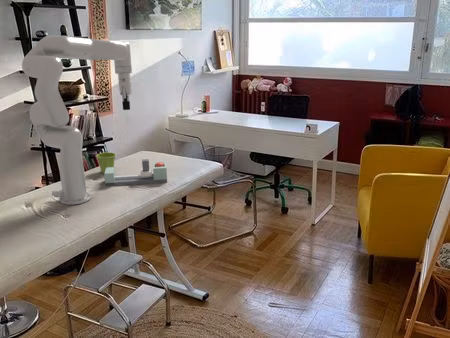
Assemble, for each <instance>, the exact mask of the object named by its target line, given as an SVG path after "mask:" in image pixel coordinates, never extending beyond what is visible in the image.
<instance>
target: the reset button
mask: <svg viewBox="0 0 450 338" xmlns="http://www.w3.org/2000/svg"><path fill="white" fill-rule="evenodd" d="M163 162H164V161H163ZM163 162H161V161H159V162H157V161H156V162H155V163H156V167H164V165H163Z"/></svg>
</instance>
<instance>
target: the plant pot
mask: <svg viewBox="0 0 450 338" xmlns="http://www.w3.org/2000/svg"><path fill="white" fill-rule="evenodd" d="M116 155H117V154H116V153H115V152H101V153H98V154H96V155H95V156H96V158H97V160H98V164H99V168H100V172H101V173H102V174H104V173H105V170H106V168H108V167H115V159H116Z"/></svg>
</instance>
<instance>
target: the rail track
mask: <svg viewBox="0 0 450 338" xmlns="http://www.w3.org/2000/svg"><path fill="white" fill-rule="evenodd" d="M156 163H157V162H153V163H152V165H153V166H152V169H153V170H152V172H153V173H152V176H147V177H141V174H130V175H129V174H128V175H127V174H125V175H117V174H116V167H115V166H114V167H108V168H106V170H105V173H103V174H104V182H105V183H104V184H105V187H110V186H114V187H115V186H126V185H129V186H130V185H143V184H146V185H147V184H158V183H168V175H167V173H168V172H167V162H166V161H165V162H164V161H163V165H164V167H156Z"/></svg>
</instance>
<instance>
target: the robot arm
mask: <svg viewBox="0 0 450 338" xmlns="http://www.w3.org/2000/svg"><path fill="white" fill-rule="evenodd" d="M131 55H132V54H131V45H130V42H129V41H113V40H103V39H95V38H87V37H80V36H79V37H77V36H71V35H70V36H68V35H47V36H44V37H43V38H41V39H40V40H39V41H38V42H37V43H36V44H35V45H34V46H33V47H32V48H31V50H29V52H28V53H27V54H26V55H25V56H24V58H23V59H22V62H21V69H22V72H23V73H24V74H25V75H26V76H27V77H30V78H34V79H35V78H36V79H37V81H36V83H35V87H34V95H35V99H36V102H34V103H32V105H31V106H30V109H29V119H30V121H31V123H32V125H33V127H34V129H35V131H36V133H37V135H38V136H39V139H40V140H41V141H42V143H43V144H44V145H45V146H47V147H51V148H55V149H60V152H59V154H58V159H57V160H58V162H57V163H58V169H59V171H58V172H59V176H60V177H59V178H60V184H61V189H60V190H54V191H52V190H51V196H53V197H54V198H59V203H60V204H63V205H67V206H70V205H71V206H72V205H75V206H76V205H80V204H83V203H86V202H88V201H89V200H91V198H92V196H91V193H90V192H87V186H86V177H85V170H84V161H83V141H84V139H83V134H82V131H80V129H79V128H77V127H75V126H71V125H68V123H69V121H70V115H69V112H68V109H67V107H66V105H65V102H64V101H63V98H62V96H61V94H60V91H59V82H60V79H61V76H62V74H63V70H64V65H63V61H62V60H61V59H70V60H71V59H73V60H86V61H87V60H89V61H95V60H97V61H98V60H105V61H108V60H109V61H114V65H113V66H114V71H115V72H114V73H115V74H116V75H117V80H118V88H119V95H120V96H122V97H121V98H122V99H121V101H122V102H121V103H122V110H123V111H129V110H130V109H131V102H130V96H131V95H132V90H133V89H132V82H131V74H133V71H132V70H133V69H132V56H131Z"/></svg>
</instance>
